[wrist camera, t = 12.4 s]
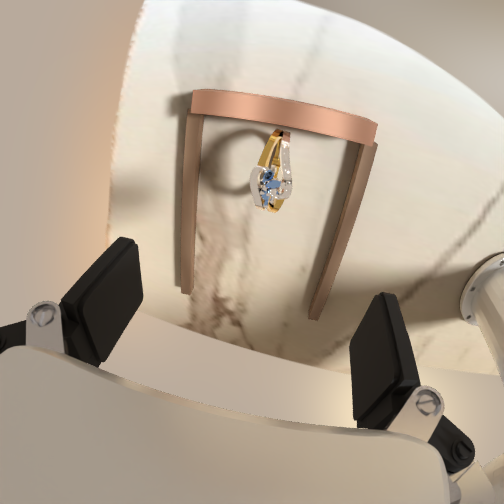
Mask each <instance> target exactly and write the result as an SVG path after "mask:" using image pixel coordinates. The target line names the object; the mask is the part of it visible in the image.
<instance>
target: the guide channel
mask: <svg viewBox="0 0 504 504" xmlns="http://www.w3.org/2000/svg"><path fill="white" fill-rule="evenodd" d="M204 114H207V115H216V116H225V117H233V118H240V119H247V120H254V121H261V122H267V123H272V124H278V125H284V126H289V127H294V128H299V129H304V130H308V131H313V132H317V133H322V134H326V135H330V136H334V137H338V138H342V139H346V140H350V141H354V142H357V143H361V145H360V149H359V153H358V156H357V160H356V164H355V168H354V172H353V175H352V179H351V182H350V186H349V189H348V193H347V196H346V200H345V203H344V207H343V210H342V213H341V217H340V220H339V223H338V226H337V230H336V233H335V236H334V239H333V242H332V245H331V248H330V251H329V254H328V257H327V260H326V263H325V266H324V269H323V272H322V275H321V278H320V281H319V283H318V286H317V289H316V292H315V295H314V297H313V300H312V303H311V306H310V308H309V319H311V320H317V321H318V319H319V316H320V314H321V312H322V309H323V307H324V304H325V302H326V299H327V297H328V294H329V292H330V289H331V287H332V284H333V282H334V279H335V276H336V274H337V271H338V268H339V266H340V263H341V260H342V257H343V255H344V252H345V249H346V246H347V243H348V241H349V238H350V235H351V232H352V229H353V226H354V223H355V220H356V217H357V214H358V211H359V208H360V204H361V201H362V198H363V195H364V192H365V188H366V185H367V182H368V178H369V175H370V171H371V168H372V164H373V161H374V157H375V153H376V150H377V146H378V144H377V143H375V142H374V138H375V134H376V130H377V126H378V124H377V123H375V122H373V121H371V120H369V119H367V118H364V117H361V116H357V115H354V114H350V113H346V112H342V111H339V110H335V109H330V108H326V107H322V106H318V105H313V104H309V103H304V102H299V101H294V100H288V99H283V98H277V97H271V96H265V95H258V94H251V93H243V92H235V91H225V90H215V89H200V90H193V96H192V105H191V108H190V109H188V111H187V122H186V134H185V148H184V164H183V183H182V210H181V293H183V294H188V295H190V294H191V292H192V290H193V288H194V256H195V231H196V211H197V194H198V180H199V166H200V154H201V143H202V132H203V122H204Z"/></svg>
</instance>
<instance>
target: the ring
mask: <svg viewBox="0 0 504 504" xmlns="http://www.w3.org/2000/svg"><path fill="white" fill-rule="evenodd" d="M289 141H290V132H287V131H283V130H280V129H276V130H275V131H274V132H273V134H272V135H271V136H270V138H269V140H268V142H267V144H266V146H265V148H264V150H263V152H262V155H261V157H260V159H259V162H258V165H257V166H256V167H255V168H254V169H253V170H252V172H251V175H250V188H251V192H252V196H253V199H254V203H255V206H256V208H257V209H259V210H263V211H265V208H266V209H267V210H268V211H269V212H273V213H276V212H277V211H278V210H279V209H280V207H281V205H282V204H283V202H284V199H287V198H289V196H290V195H291V192H292V178H291V169H290V158H289ZM276 143H277V147H276V152H275V155H274V157H273V160H272V163H271V164H272V166H271V169H269V168H268V165H269V161H270V157H271V154H272V152H273V149H274V147H275V145H276ZM280 166H281V173H282V179H281V180H280V179H276V178H277V174H278V170H279V167H280ZM262 172H264V173H265V174H264V176H263V179H261V180H260V174H261V173H262ZM261 185H262V186H261ZM280 186H281V189H282V191H280Z"/></svg>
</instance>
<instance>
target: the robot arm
mask: <svg viewBox="0 0 504 504" xmlns="http://www.w3.org/2000/svg"><path fill="white" fill-rule="evenodd" d="M142 300H143V288H142V280H141V271H140V262H139V251H138V245H137V244H135V241H134V240H133V239H129V238H125V237H119V238H118V239H117V240H116V241H115V242H114V243H113V244H112V245H111V246H110V247H109V248H108V249H107V250H106V251H105V252H104V253H103V254H102V255H101V256H100V257H99V258H98V259H97V260H96V261H95V262H94V263H93V264H92V265H91V267H90V268H89V269H88V270H87V271H86V272H85V273H84V274H83V275H82V276H81V277H80V279H79V280H78V281H77V282H76V283H75V284H74V285H73V287H71V289H70V290H69V291H68V292H67V293H66V294H65V295H64V297H63V298H62V299H61V302H60V304H59V305H57V304H56V303H54V302H52V301H43V302H40V303H37V304H36V305H34V306H33V307H32V308H31V309H30V310H29V312H28V314H27V319H26V320H25V321H21V322H18V323H14V324H10V325H7V326H3V327H0V504H504V453H503V454H502V455H500V456H498V457H497V458H495V459H494V460H492V461H490V462H489V463H487V464H486V465H485V466H484V467H483V468H482V467H481V465H480V464H479V462H478V461H476V462H474V461H473V459H474V457H475V448H474V445H473V443H472V441H471V440H470V439H469V438H468V437H467V436H466V435H465V434H464V433H463V432H462V431H461V430H460V429H458V428H457V427H456V426H455V425H454V424H453V423H452V422H451V421H450V420H448V419H447V418H446V417H445V416H444V415H443V412H444V401H443V398H442V397H441V395H440V393H439V392H437V390H436V389H434V388H432V387H429V386H421V385H420V379H419V375H418V371H417V366H416V362H415V358H414V354H413V350H412V346H411V343H410V339H409V335H408V333H407V331H406V327H405V324H404V321H403V317H402V314H401V311H400V307H399V304H398V301H397V298H396V296H395V295H394V294H390V293H385V292H381V293H380V294H379V295H375V296H374V298H373V300H372V302H371V304H370V306H369V308H368V310H367V312H366V314H365V316H364V317H363V319H362V321H361V323H360V325H359V327H358V329H357V330H356V332H355V334H354V336H353V338H352V339H351V342H350V346H349V351H350V364H351V380H352V399H353V418H354V420H357V428H344V427H334V426H325V425H315V424H306V423H299V422H292V421H285V420H278V419H272V418H267V417H261V416H256V415H251V414H245V413H241V412H236V411H232V410H227V409H223V408H219V407H215V406H211V405H207V404H203V403H199V402H195V401H192V400H188V399H185V398H181V397H178V396H174V395H171V394H168V393H165V392H162V391H159V390H156V389H153V388H150V387H147V386H144V385H141V384H138V383H135V382H133V381H130V380H127V379H124V378H122V377H119V376H117V375H114V374H112V373H109V372H107V371H104V370H101V369H99V368H98V367H99V365H100V364H101V362H105V361H106V360H107V358H108V356H109V355H110V353H111V351H112V350H113V348H114V346H115V345H116V343H117V341H118V339H119V338H120V336H121V335H122V333H123V331H124V330H125V328H126V327H127V325H128V323H129V321H130V320H131V319H132V317H133V315H134V314H135V312H136V311H137V309H138V308H139V306H140V304H141V303H142ZM460 311H461V314H462V316H463V318H464V320H465V321H466V322H467V323H468V324H471V325H475V326H479V327H480V330H481V332H482V334H483V336H484V338H485V340H486V343H487V345H488V347H489V349H490V352H491V354H492V356H493V359H494V361H495V364H496V366H497V369H498V371H499V374H500V377H501V379H502V382H503V385H504V253H503V254H500V255H497V256H495V257H493V258H491V259H490V260H488V261H487V262H486V263H484V264H483V265H482V266H481V267H480V268H479V269H478V270H477V271H476V272H475V273H474V274H473V276H472V277H471V278H470V280H469V281H468V283H467V284H466V286H465V288H464V290H463V293H462V296H461V299H460ZM87 363H88V364H87ZM89 364H90V365H89ZM92 365H93V366H92ZM94 366H95V367H94ZM358 428H368V429H358Z"/></svg>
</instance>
